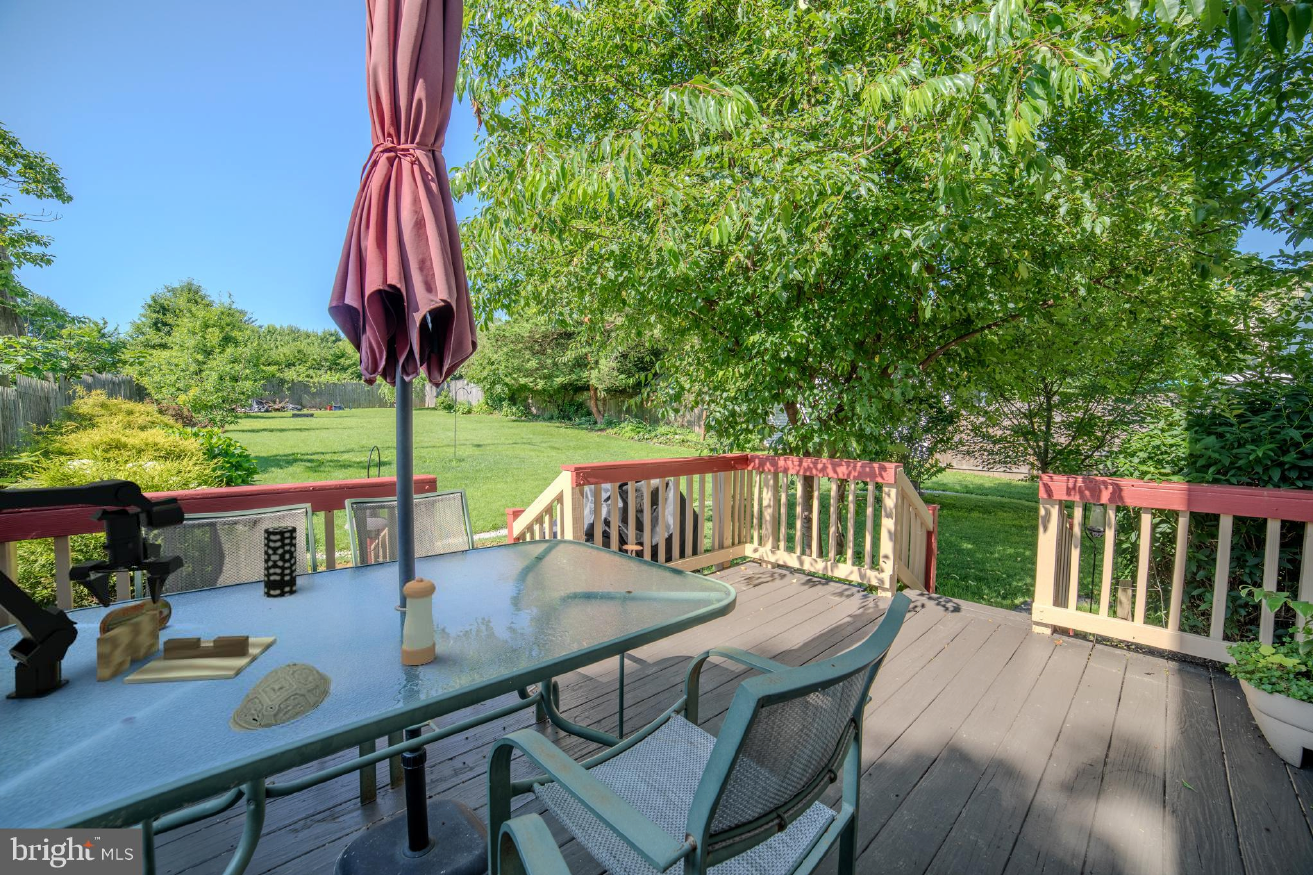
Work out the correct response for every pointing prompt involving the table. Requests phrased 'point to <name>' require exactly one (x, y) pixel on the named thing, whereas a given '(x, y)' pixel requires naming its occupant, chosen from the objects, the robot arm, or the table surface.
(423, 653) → the pepper shaker
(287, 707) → the turtle shell
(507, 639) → the table surface
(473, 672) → the table surface
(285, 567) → the white-spotted black cylinder
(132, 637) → the oak plate
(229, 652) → the wooden base with bar
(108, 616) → the tin
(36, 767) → the table surface
